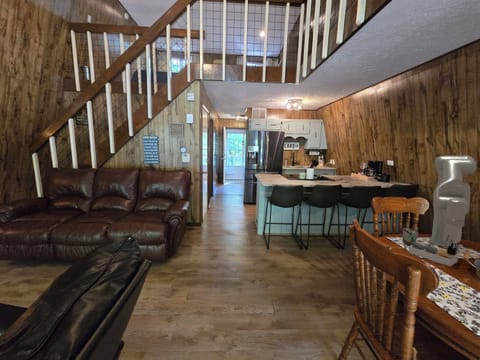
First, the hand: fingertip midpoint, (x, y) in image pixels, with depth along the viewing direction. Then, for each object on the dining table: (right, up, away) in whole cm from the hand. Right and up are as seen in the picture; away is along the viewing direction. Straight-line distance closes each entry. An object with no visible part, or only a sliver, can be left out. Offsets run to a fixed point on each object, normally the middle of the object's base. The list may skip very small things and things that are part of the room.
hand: (451, 254), depth 124 cm
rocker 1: (-7, 0, +14) cm, 16 cm away
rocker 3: (-1, -2, +3) cm, 4 cm away
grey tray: (-2, -5, +10) cm, 12 cm away
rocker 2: (-4, -1, +9) cm, 10 cm away
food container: (-1, -3, +28) cm, 28 cm away
